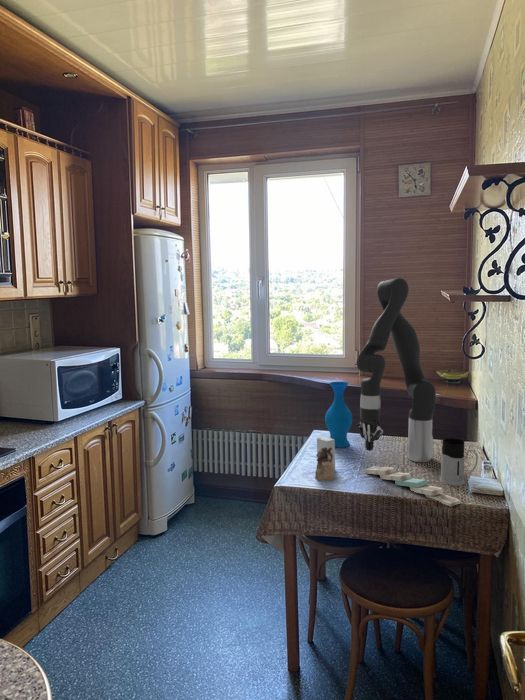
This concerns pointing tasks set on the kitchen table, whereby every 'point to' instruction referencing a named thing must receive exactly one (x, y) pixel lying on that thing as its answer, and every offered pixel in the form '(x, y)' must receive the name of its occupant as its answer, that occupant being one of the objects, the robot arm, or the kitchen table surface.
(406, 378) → the robot arm
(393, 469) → the domino
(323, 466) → the figurine
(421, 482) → the domino
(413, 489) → the domino
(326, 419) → the vase
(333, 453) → the skincare box
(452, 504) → the domino
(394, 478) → the domino
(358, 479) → the kitchen table surface
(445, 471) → the grey black pitcher
